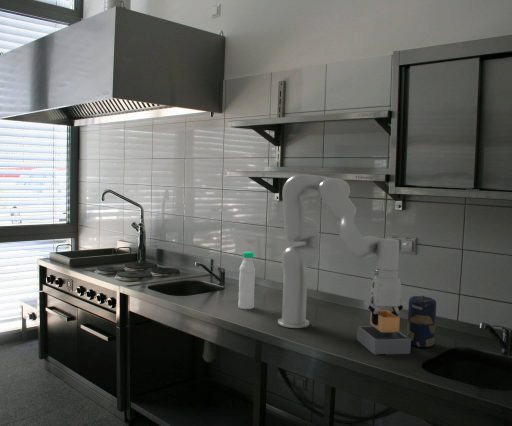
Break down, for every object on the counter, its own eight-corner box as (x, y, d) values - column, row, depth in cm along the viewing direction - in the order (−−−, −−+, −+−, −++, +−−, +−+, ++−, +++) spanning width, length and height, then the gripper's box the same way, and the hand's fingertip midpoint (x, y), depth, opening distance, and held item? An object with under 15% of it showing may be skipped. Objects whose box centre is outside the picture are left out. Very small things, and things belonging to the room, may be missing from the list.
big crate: (356, 339, 189) (357, 326, 189) (389, 338, 192) (390, 325, 191) (374, 354, 174) (375, 340, 173) (410, 353, 176) (411, 339, 176)
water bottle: (236, 308, 227) (238, 252, 225) (240, 305, 233) (242, 250, 232) (251, 310, 225) (253, 253, 223) (255, 306, 232) (257, 251, 230)
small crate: (370, 324, 186) (370, 310, 186) (386, 323, 188) (387, 310, 187) (381, 332, 177) (382, 318, 176) (399, 331, 178) (399, 317, 177)
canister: (438, 344, 187) (441, 296, 186) (427, 350, 180) (430, 300, 178) (413, 338, 193) (416, 291, 192) (401, 344, 186) (404, 295, 185)
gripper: (367, 276, 175) (365, 327, 177) (414, 275, 179) (412, 326, 180) (359, 272, 183) (357, 321, 184) (404, 271, 186) (402, 320, 187)
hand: (384, 323), depth 182 cm, fingers closed on small crate, 6 cm apart
